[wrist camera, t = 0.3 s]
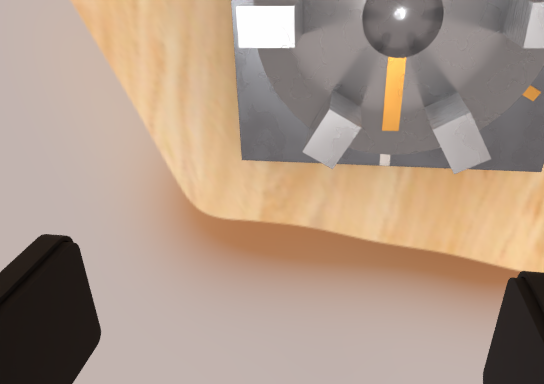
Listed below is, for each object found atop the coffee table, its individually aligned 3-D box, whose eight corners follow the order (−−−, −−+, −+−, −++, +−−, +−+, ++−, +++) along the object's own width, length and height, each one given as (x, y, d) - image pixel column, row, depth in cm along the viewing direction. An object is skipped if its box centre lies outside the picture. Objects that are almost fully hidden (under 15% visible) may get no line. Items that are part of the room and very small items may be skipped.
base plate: (222, -190, 30) (216, -195, 29) (639, -224, 26) (651, -231, 25) (244, 155, 41) (241, 160, 40) (537, 166, 37) (542, 173, 36)
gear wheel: (250, -157, 29) (224, -179, 24) (600, -181, 26) (666, -214, 20) (263, 140, 39) (246, 174, 33) (520, 149, 36) (550, 188, 30)
